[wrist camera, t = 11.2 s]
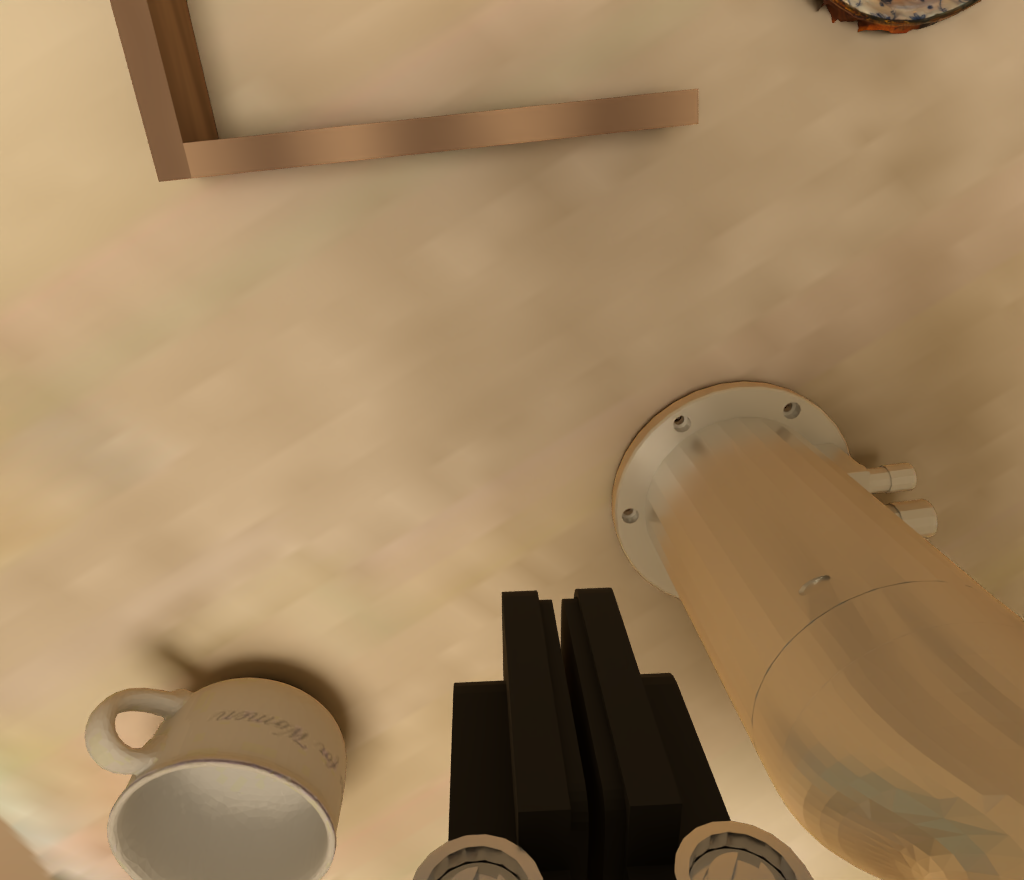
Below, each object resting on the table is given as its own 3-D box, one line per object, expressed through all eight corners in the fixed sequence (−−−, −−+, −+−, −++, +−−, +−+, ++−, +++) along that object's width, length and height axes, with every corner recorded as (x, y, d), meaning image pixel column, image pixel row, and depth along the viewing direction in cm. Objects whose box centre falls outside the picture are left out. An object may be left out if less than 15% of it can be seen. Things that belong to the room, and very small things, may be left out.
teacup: (390, 747, 44) (377, 870, 36) (238, 818, 45) (196, 951, 37) (252, 576, 38) (204, 679, 31) (85, 661, 40) (1, 780, 32)
